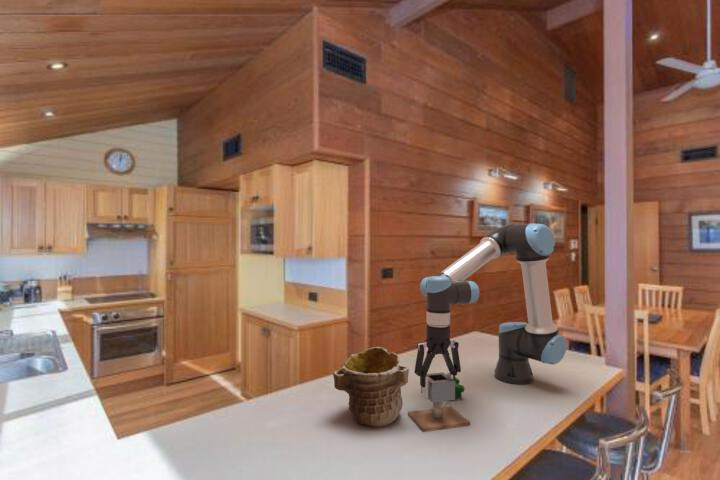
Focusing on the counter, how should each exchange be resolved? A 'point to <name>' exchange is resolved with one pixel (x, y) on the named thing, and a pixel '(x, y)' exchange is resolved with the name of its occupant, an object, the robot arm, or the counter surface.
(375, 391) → the ceramic vessel
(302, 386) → the counter surface
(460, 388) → the clamp
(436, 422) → the post board
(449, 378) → the collar
